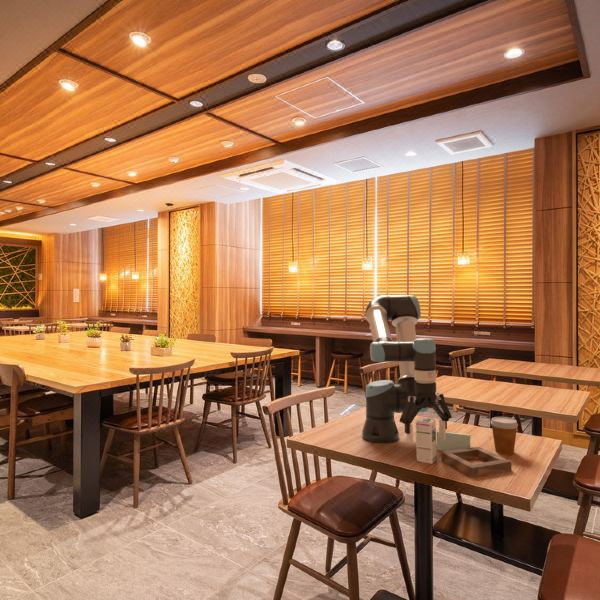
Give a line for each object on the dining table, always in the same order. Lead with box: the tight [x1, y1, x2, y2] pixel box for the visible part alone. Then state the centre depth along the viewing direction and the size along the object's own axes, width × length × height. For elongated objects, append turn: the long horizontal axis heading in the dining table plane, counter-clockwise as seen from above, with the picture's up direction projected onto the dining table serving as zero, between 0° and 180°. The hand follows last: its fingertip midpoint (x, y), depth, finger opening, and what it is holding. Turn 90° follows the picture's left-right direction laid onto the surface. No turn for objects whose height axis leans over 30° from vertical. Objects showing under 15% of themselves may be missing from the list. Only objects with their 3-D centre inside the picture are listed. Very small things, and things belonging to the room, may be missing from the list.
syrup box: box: [415, 417, 438, 465], centre depth 158 cm, size 6×6×14 cm
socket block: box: [441, 445, 513, 478], centre depth 152 cm, size 16×16×3 cm
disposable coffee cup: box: [489, 416, 519, 456], centre depth 165 cm, size 10×10×12 cm
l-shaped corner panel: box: [436, 427, 471, 452], centre depth 171 cm, size 12×12×8 cm
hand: (426, 440), depth 158 cm, fingers open, 13 cm apart
